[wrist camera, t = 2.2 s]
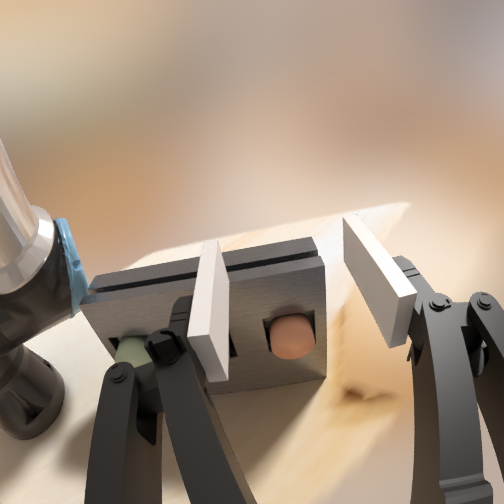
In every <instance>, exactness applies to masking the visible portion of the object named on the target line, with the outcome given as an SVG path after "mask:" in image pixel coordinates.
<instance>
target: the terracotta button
mask: <svg viewBox="0 0 504 504" xmlns="http://www.w3.org/2000/svg"><path fill="white" fill-rule="evenodd" d="M269 333H270V340H271V348H272V352H273V353H274V354H275V355H276V356H277V357H279V358H282V359H297V358H300V357H303V356H305V355H306V354H308V353H309V352H310V351H311V350H312V349H313V347H314V345H315V339H314V335H313V332H312V328H311V325H310V321H309V319H308V317H307V316H306V315H304V314H302V313H300V312H298V313H293V314H287V315H282V316H277V317H275V318H274V319H273V320H272V321H271V323H270V325H269Z"/></svg>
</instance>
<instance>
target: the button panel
mask: <svg viewBox="0 0 504 504" xmlns="http://www.w3.org/2000/svg"><path fill="white" fill-rule="evenodd" d="M222 257H223V260H224V264H225V268H226V272H227V275H228V279H229V334H228V336H229V362H228V381H219V382H209V381H208V379H207V377H206V380H205V385H206V387H207V389H208V391H209V394H220V393H230V392H239V391H247V390H255V389H262V388H269V387H276V386H282V385H288V384H293V383H299V382H304V381H309V380H314V379H319V378H324V377H326V374H327V322H326V285H325V265H324V263H323V261H322V259H321V256H318V250H317V248H316V245H315V243H314V241H313V239H312V237H306V238H301V239H295V240H290V241H284V242H278V243H273V244H267V245H261V246H256V247H250V248H245V249H239V250H234V251H228V252H223V253H222ZM199 262H200V257H195V258H189V259H184V260H178V261H173V262H168V263H162V264H157V265H151V266H146V267H140V268H135V269H129V270H124V271H119V272H113V273H108V274H102V275H97V276H95V278H94V279H93V281H92V283H91V284H90V286H89V288H88V289H87V290H88V292H89V294H90V295H85V296H83V298H82V300H81V301H80V303H79V307H80V309H81V310H82V312H83V314H84V315H85V317H86V319H87V320H88V322H89V323H90V325H91V327H92V328H93V330H94V331H95V333H96V334H97V336H98V337H99V339H100V340H101V342H102V343H103V345H104V346H105V348H106V349H107V351H108V352H109V353H110V355H111V356H112V358H113V359H114V358H115V355H116V352H117V349H118V346H119V343H120V340H121V338H122V337H123V336H134V335H142V336H144V337H146V338H147V337H148V336H149V335H150V334H152V333H153V332H155V331H157V330H158V329H162V328H168V325H169V322H170V316H171V312H172V308H173V305H174V303H175V302H176V301H177V299H178V298H179V297H183V296H189V295H194V290H195V284H196V279H197V273H198V267H199ZM298 312H300V313H302V314H304V315H306V316H307V317H308V319H309V321H310V325H311V328H312V332H313V335H314V339H315V345H314V347H313V349H312V350H311V351H310V352H309V353H308V354H306V355H305V356H303V357H300V358H297V359H282V358H279V357H277V356H276V355H275V354H274V353H273V352H272V348H271V340H270V333H269V325H270V323H271V321H272V320H273V319H274V318H275V317H277V316H282V315H287V314H293V313H298Z"/></svg>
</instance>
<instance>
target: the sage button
mask: <svg viewBox="0 0 504 504" xmlns="http://www.w3.org/2000/svg"><path fill="white" fill-rule="evenodd" d="M146 339H147V338H146V337H144V336H142V335H134V336H123V337H122V338H121V340H120V343H119V346H118V349H117V352H116V355H115V358H114V360H115V363H118V362H129V363H131V364H132V365H133V367H134V368H135V367H138V366H141V365H144V364H147V363H149V362H151V361H152V359H151V358H150V356H149V355H148V353H147V351H146V350H145V348H144V345H145V341H146Z"/></svg>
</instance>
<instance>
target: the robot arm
mask: <svg viewBox="0 0 504 504" xmlns="http://www.w3.org/2000/svg"><path fill="white" fill-rule="evenodd" d="M343 241H344V262H345V264H346V266H347V267H348V269H349V271H350V273H351V275H352V277H353V278H354V280H355V282H356V284H357V286H358V287H359V290H360V291H361V293H362V295H363V297H364V299H365V301H366V303H367V305H368V307H369V309H370V311H371V313H372V315H373V317H374V319H375V321H376V323H377V325H378V327H379V329H380V331H381V333H382V335H383V337H384V339H385V341H386V343H387V345H388V347H389V348H393V347H396V346H400V345H403V344H405V343H406V339H407V336H408V335H409V337H410V338H411V340H412V344H411V347H410V350H409V354H408V357H407V361H410V357H411V361H412V374H413V390H414V417H415V438H414V468H413V482H412V494H411V501H410V504H493V489H492V486H491V484H490V483H489V482H488V481H486V480H485V479H484V475H483V455H482V441H481V431H480V421H479V414H478V406H477V403H478V405H479V408H480V410H481V413H482V415H483V418H484V421H485V423H486V426H487V429H488V432H489V435H490V437H491V440H492V443H493V447H494V449H495V453H496V456H497V459H498V463H499V466H500V470H501V473H502V477H503V481H504V310H503V309H502V307H501V306H500V305H499V303H498V302H497V300H496V299H495V298H494V297H493V296H491V295H490V294H488V293H485V292H476V293H474V294H473V295H472V296H471V298H470V301H469V302H463V303H454V302H452V300H451V299H450V298H449V297H448V296H446V295H443V294H441V293H435V292H434V290H433V289H432V288H431V286H430V285H429V284H428V283H427V281H426V280H425V279H424V277H423V276H422V275H420V272H419V271H418V270H417V269H416V268H415V266H414V265H413V264H412V263H411V261H409V260H408V259H406V258H404V257H403V256H397V257H393V258H391V256H390V255H389V254H388V253H387V251H386V250H385V249H384V247H383V246H382V245H381V244H380V242H379V241H378V240H377V239H376V237H375V236H374V235H373V234H372V233H371V231H370V230H369V229H368V228H367V227H366V225H365V224H364V223H363V222H362V221H361V219H360V218H359V217H358V216H357V215H349V216H343ZM88 288H89V283H88V280H87V277H86V275H85V272H84V269H83V267H82V264H81V262H80V258H79V255H78V252H77V249H76V246H75V243H74V240H73V237H72V235H71V231H70V228H69V226H68V222H67V220H66V219H65V218H59V219H57V218H56V219H54V220H53V221H52V218H51V217H50V215H49V214H48V213H47V211H45V210H44V209H42V208H40V207H37V206H32V205H31V206H30V205H29V203H28V201H27V199H26V197H25V194H24V192H23V190H22V188H21V186H20V184H19V182H18V179H17V178H16V175H15V173H14V170H13V168H12V166H11V163H10V161H9V158H8V156H7V154H6V151H5V148H4V146H3V143H2V140H1V138H0V426H1V427H2V428H3V429H4V430H5V431H6V432H7V433H9V434H10V435H11V436H13V437H14V438H17V439H30V438H33V437H36V436H37V435H39V434H41V433H42V432H43V431H45V430H46V429H47V428H48V427H49V426H50V425H51V423H52V422H53V421H54V419H55V418H56V416H57V415H58V413H59V411H60V408H61V406H62V403H63V399H64V382H63V379H62V377H61V375H60V374H59V373H58V371H57V370H56V369H55V368H54V367H53V365H52V364H50V363H49V362H48V361H46V360H45V359H43V358H42V357H40V356H39V355H37V354H36V353H34V352H33V351H31V350H30V349H28V348H27V347H25V346H24V345H23V343H24V342H26V341H28V340H30V339H31V338H33V337H35V336H37V335H39V334H40V333H42V332H44V331H46V330H48V329H50V328H52V327H54V326H55V325H57V324H59V323H61V322H63V321H65V320H67V319H69V318H73V317H74V316H75V314H76V313H78V312H80V311H81V309H80V307H79V303H80V301H81V300H82V298H83V296H85V295H90V294H89V292H88V290H87V289H88ZM228 334H229V279H228V275H227V272H226V268H225V264H224V260H223V257H222V253H221V249H220V246H219V242H218V239H213V240H208V241H203V245H202V251H201V256H200V262H199V267H198V273H197V279H196V284H195V290H194V295H189V296H183V297H179V298H178V299H177V301H176V302H175V303H174V305H173V308H172V312H171V316H170V322H169V325H168V328H162V329H158V330H157V331H155V332H153V333H152V334H150V335H149V336H148V337H147V339H146V341H145V345H144V348H145V350H146V351H147V353H148V355H149V356H150V358H151V359H152V361H151V362H149V363H147V364H144V365H141V366H138V367H135V368H134V367H133V365H132V364H131V363H129V362H118V363H115V364H114V365H112V366H111V367H110V368H109V369H108V370H107V371H106V373H105V376H104V379H103V384H102V388H101V393H100V398H99V403H98V408H97V413H96V418H95V424H94V429H93V435H92V441H91V448H90V455H89V462H88V470H87V479H86V489H85V501H84V504H162V479H161V461H162V420H163V412H164V414H165V418H166V422H167V426H168V430H169V434H170V438H171V442H172V445H173V449H174V452H175V456H176V459H177V463H178V466H179V469H180V472H181V476H182V479H183V482H184V485H185V488H186V491H187V494H188V497H189V500H190V502H191V504H257V502H256V500H255V498H254V496H253V494H252V492H251V490H250V488H249V486H248V484H247V482H246V480H245V477H244V475H243V473H242V471H241V469H240V467H239V464H238V462H237V460H236V458H235V455H234V453H233V451H232V448H231V446H230V444H229V441H228V439H227V437H226V434H225V432H224V429H223V427H222V425H221V422H220V420H219V417H218V415H217V412H216V410H215V407H214V404H213V402H212V399H211V397H210V394H209V391H208V389H207V387H206V385H205V380H206V377H207V379H208V381H209V382H219V381H228ZM483 341H484V342H485V344H486V345H487V346H486V345H485V344H484V342H483Z"/></svg>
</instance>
